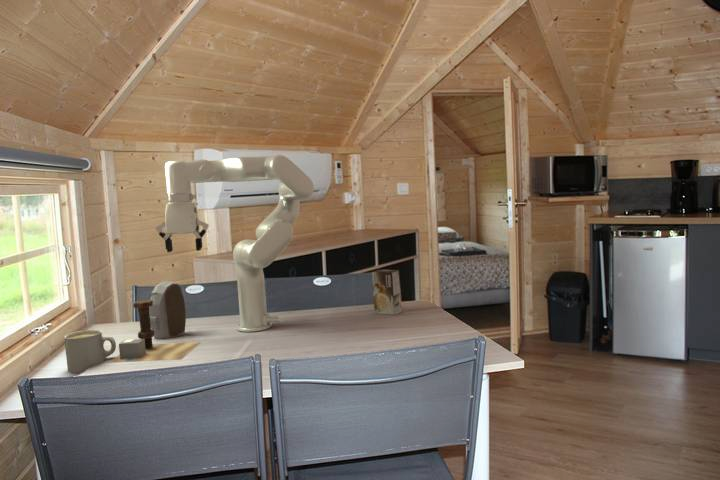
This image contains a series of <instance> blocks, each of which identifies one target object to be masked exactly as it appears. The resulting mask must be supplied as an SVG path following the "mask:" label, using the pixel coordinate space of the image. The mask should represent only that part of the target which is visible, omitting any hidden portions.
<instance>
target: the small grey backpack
mask: <svg viewBox="0 0 720 480" xmlns="http://www.w3.org/2000/svg"><path fill="white" fill-rule="evenodd" d="M148 300H152V301H153V305H152V306H150V307H149V308H150V311H149V314H150V323H151V330H153V331H154V336H153V339H158V340H159V339H160V340H161V339H164V340H165V339H169V338H170V339H171V338H178V337H179V336H181V335H183V334H185V332H186V322H187V321H186V320H187V309H186V308H187V307H186V303H185V297H184V295H183V289H182V286H180V285H179V284H178V283H176V282H173V281H169V280H164V281H162V282H159V283H158V284H157V285H155V286H154V288H153V289H152V291H151V294H150V295H149V299H148Z"/></svg>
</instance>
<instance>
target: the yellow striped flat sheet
mask: <svg viewBox="0 0 720 480" xmlns="http://www.w3.org/2000/svg"><path fill="white" fill-rule="evenodd" d="M201 343H202V342H201V341H199V342H195V341H194V342H177V343H176V342H175V343H173V342H172V343H157V344H156V343H152V344H153V347H152V348H150V349H146V354H144V355H143V356H142V357H140V358H125V359H120V354H118V355H116V356H115V357H114V358H112V359H110V360H109V361H107V363H129V362H132V363H133V362H152V361H157V362H158V361H174V360H175V361H177V360H179V361H180V360H183V359H184V358H185V357H186V356H187V355H189V353H191V352H192V351H193V350H194V349H195V348H196V347H197V346H198V345H200V344H201Z"/></svg>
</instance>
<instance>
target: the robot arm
mask: <svg viewBox="0 0 720 480" xmlns="http://www.w3.org/2000/svg"><path fill="white" fill-rule="evenodd" d="M164 171H165V173H164V174H165V183H166V194H167V195H166V196H167V203H166V206H165V216H164V219H165V220H164V222H163V223H161V224H159V225H158V226H156V227H155V230H156V231H157V234H158V235H159V237H161V238H162V239H163V240H164V244H165V250H166V252H167V253H171V252H173V239H171V237H173V235H182V234H193V235H194V236H195V237H196V238H195V250H196V251H198V252H200V251H201V250H202V248H203V237H204V236H205V234H206V233H207V232H208V229H209V226H210V225H209V223H206V222H204V221H202V220H200V219H199V214H198V209H197V205H196V203H195V202H193V201H194V200H195V199H197V195H196V194H193V193H192V187H191V183H192V184H198V183H199V184H200V183H203V184H204V183H217V182H219V183H221V182H223V183H230V182H231V183H239V182H241V183H242V182H257V181H273V180H279V182H280V183H279V185H278V197H279V200H278V203H277V206H276V207H275V208H274V210H272V211H271V213H269V214H268V215H267V217H266V218H264V220H263V221H261V222H260V223H259V225H258V226H257V228H256V229H255V237H256V239H257V240H256V239H243V240H240V241H238V242H237V243H236V245H234V248H233V251H232V259H233V264H234V268H235V273H236V281H237V282H236V283H237V295H238V296H237V297H238V308H239V309H238V310H239V324H236V330H237V331H238V332H244V333H245V332H246V333H248V332H249V333H250V332H251V333H252V332H260V331H264V330H267V329H270V328H271V327H272V326H273V323H280V316H277V315H272V316H271V315H270V312H267V311H268V309H267V296H266V282H265V274H264V268H266V267H269V266H270V265H271V264H272V263H273V262H274V261H275V260H276V259H277V258H278V257H279V256H280V255H281V254H282V253H283V252H284V250H286V248H287V247H288V246H289V245H290V243H291V242H292V240H293V238H294V228H293V224H294V223H296V220H297V219H298V217H299V215H300V208H301V207H300V205H301V204H300V201H304V200H308V199H309V198H310V197H311V196H312V195H313V194H314V191H315V185H314V183H313V181H312V179H311V177H309V176H308V175H307V173H305V172H304V171H303V170H301V168H300V167H299V166H297V164H295V163H294V162H293V161H292V160H291V159H289V157H286V156H285V155H281V154H276V155H266V156H265V155H264V156H263V155H262V156H237V157H235V156H234V157H230V158H225V159H216V160H207V159H196V160H195V159H194V160H190V161H186V160H172V161H171V160H170V161H167V162H166V163H165V165H164ZM200 226H201V227H202V230H201V231H200V229H201V227H200ZM163 228H165V232H166V233H165V232H164V231H163Z"/></svg>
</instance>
